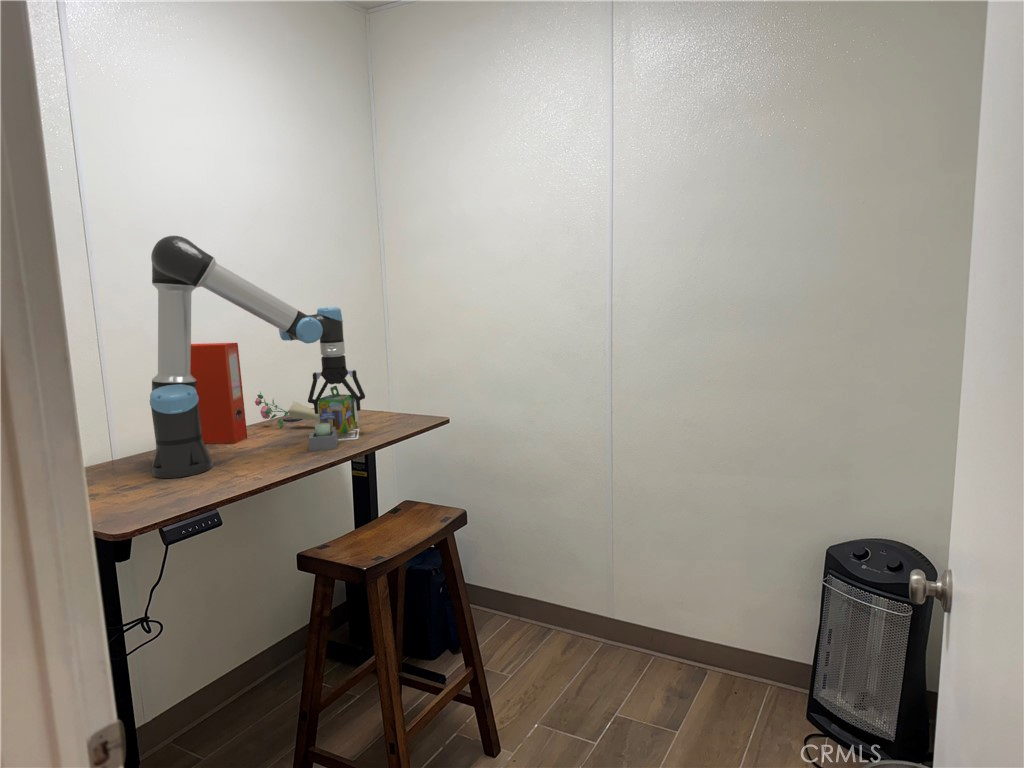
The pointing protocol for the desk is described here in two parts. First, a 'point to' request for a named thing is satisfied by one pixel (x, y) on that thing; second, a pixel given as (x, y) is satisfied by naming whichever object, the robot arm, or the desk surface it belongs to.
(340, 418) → the chalk box
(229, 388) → the file binder
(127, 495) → the desk surface
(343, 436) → the white bordered panel
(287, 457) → the desk surface
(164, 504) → the desk surface
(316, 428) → the button
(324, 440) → the button housing
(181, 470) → the robot arm
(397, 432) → the desk surface
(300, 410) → the flower vase
